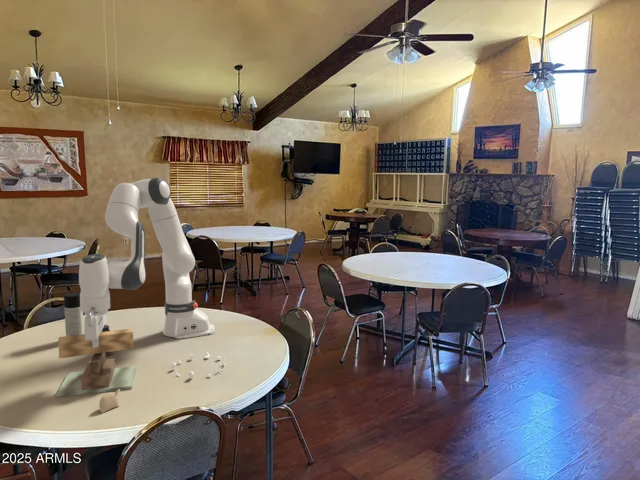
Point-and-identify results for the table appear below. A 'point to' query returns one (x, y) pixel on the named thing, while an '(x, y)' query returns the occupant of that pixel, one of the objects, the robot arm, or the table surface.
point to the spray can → (73, 314)
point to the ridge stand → (98, 378)
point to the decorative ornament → (109, 401)
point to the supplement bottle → (105, 329)
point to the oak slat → (107, 343)
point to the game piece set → (191, 371)
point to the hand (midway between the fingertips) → (97, 343)
